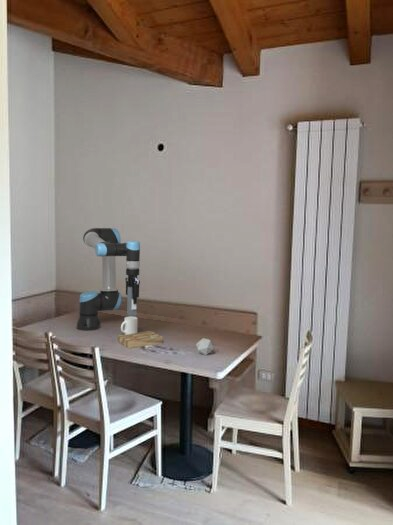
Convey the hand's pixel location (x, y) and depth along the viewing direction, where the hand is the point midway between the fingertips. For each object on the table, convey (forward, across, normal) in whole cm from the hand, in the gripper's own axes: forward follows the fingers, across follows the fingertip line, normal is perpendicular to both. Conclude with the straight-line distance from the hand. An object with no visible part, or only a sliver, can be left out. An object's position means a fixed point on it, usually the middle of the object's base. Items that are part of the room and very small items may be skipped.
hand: (132, 308), depth 268 cm
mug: (+21, -19, +8) cm, 30 cm away
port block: (+21, 0, +6) cm, 22 cm away
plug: (+4, 0, 0) cm, 4 cm away
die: (+22, +35, +27) cm, 49 cm away
